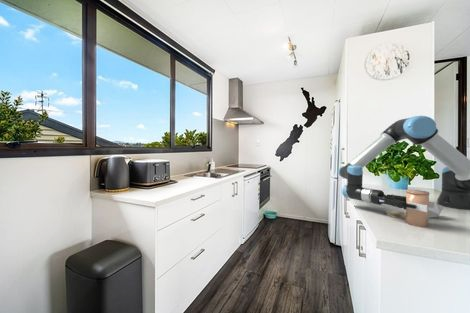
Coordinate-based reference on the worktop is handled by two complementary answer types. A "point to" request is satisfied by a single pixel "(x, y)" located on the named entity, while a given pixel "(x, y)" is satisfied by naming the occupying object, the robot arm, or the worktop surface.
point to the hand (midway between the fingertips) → (430, 206)
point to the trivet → (396, 214)
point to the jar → (417, 216)
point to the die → (434, 211)
